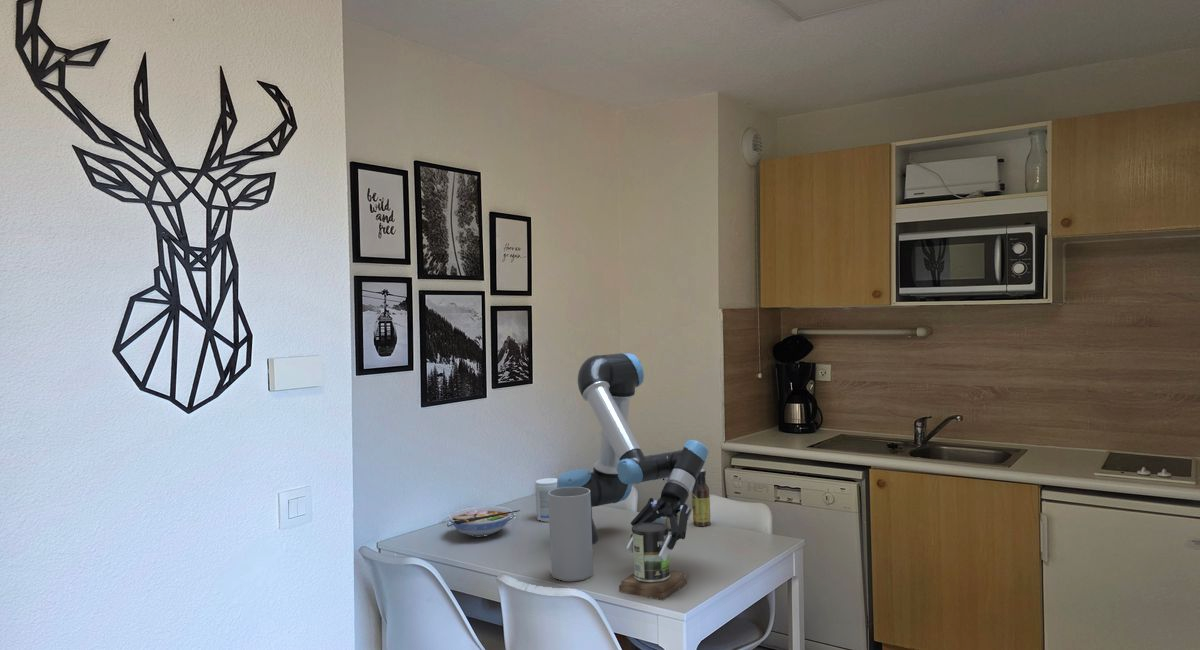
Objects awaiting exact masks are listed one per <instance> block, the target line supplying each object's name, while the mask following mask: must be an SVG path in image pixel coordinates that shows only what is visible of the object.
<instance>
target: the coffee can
mask: <svg viewBox="0 0 1200 650" xmlns="http://www.w3.org/2000/svg"><path fill="white" fill-rule="evenodd" d="M631 534H632V535H633V553H632V555H633V556H632V557H633V573H634V578H635V579H636V580H638V581H642V582H660V581H664V580H667V579H669V577H670V571H671V570H670V553H669V554H668V556H667V558H666V561H663V560H662V559H661V558H660V557H659V556H658V555H659V553H660V551H661V549H662V547H663V545H664V543H665V541H666V539H667V537H668V535H669V529H668V526H667V525H666V524H663V523H656V522H647V523H640V524H636V525H634V526H632V525H631Z"/></svg>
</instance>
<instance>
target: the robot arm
mask: <svg viewBox="0 0 1200 650" xmlns="http://www.w3.org/2000/svg"><path fill="white" fill-rule="evenodd" d="M644 375H645V372H644V367H643V364H642V363H641V360H640V359H639V358H638V357H637V356H636V355H635V354H633V353H625V352H620V353H613V354H612V353H611V354H603V355H602V354H596V355H593V356H590V357H587V359H586V360H585V361H583V363H582V364H581V366H580V367H579V370H578V373H577V386H578V391H579V393H580V395H581V397H582V399H583V400H584V401H586V402H588V404H589V406H590V407H591V409H592V411H593V413H594V415H595V417H596V419H597V421H598V423H599V425H600V427H601V433H600V441H599V442H600V443H599V451H598V452H599V453H598V460H596V462H594V463H593V469H592V470H593V471H592V472H591V471H590V470H589V469H585V468H584V469H583V468H578V469H571V470H569V471H568V470H567V471H565V472H562V473H561V474H560V475H559V476H558V477H557V478H556V479H557V488H563V487H583V488H587V489H589V490H590V497H591V524H592V545H594V544H595V543H597V542H598V541H599V533H598V530H597V527H596V525H595V521H594V519H593V509H592V508H594V507H600V506H604V505H609V504H610V505H611V504H617V503H619V502H622V501H625V500H626V499H628V497H629V496H630V494H631V492H632V488H633V485H635V484H640V483H644V482H649V481H656V480H660V479H661V480H662V479H666V482H665V484H664V486H663V488H662V490H661V492H660V498H658V500H655V499H654V498H653V497H650V498H649V499H648V502H647V503H646V505H645V506H644V507H643V508H642V509H641V510H640V511H639V513H638V514H637V515H636V516H635V517H634V518H633V519H632V520H631V522H630V525H631V527H632V526H634V525H636V524H640V523H647V522H654V521H655V520H656V519H657V518H660V517H668V518H670V526H671V530H670V533H669V534H668V537H667V539H666V541H665V543H664V545H663V547H662V549H661V551H660V553H659V555H658V556H659V557H660V558H661V559H662V560H663V561H666V558H667V556H668V554H669V555H670V552H671V551H672V550H673V549H674V548H675V546H676V544H677V541H678V540H685V539H686V534H687V528H688V520H689V515H690V513H691V508H690V507H689V505H688V504H686V502H687V500H688V498H689V496H690V495H689V494H691V493H692V490H693V487H694V484H695V481H696V479H697V477H698V475H699V473H700V471H701V469H703V466H704V465H705V463H706V459H707V457H708V455H709V449H708V448H707V446H706V445H704V443H702V442H700V441H699V440H696V439H695V440H694V439H689V440H687V441H686V443H685V444H684V445H683V448H682V449H679V450H673V451H669V452H662V453H656V454H649V455H645V454H644V452H643V451H642V449H641V447H640V445H639V443H638V441H637V439H636V438H635V436H634V434H633V432H632V430H631V428H630V427H629V425H628V420H629V409H630V399H632V398H633V397H634V396H635V394H636V393H635V392H636V388H638V387H640V386H641V385H642V384H643V382H644ZM657 511H658V513H657ZM677 513H679V514H680V519H679V526H678V523H677V520H678V517H677ZM626 549H627V550H628V551H629V553H631V554H633V535H632V533H631V535H630V540H629V542H628V544H627V545H626Z"/></svg>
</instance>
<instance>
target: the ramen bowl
mask: <svg viewBox="0 0 1200 650" xmlns="http://www.w3.org/2000/svg"><path fill="white" fill-rule="evenodd" d="M520 511H521V510H520V509H518V510H512V509H511V508H509V507H505V506H495V505H484V506H483V505H481V506H480V505H479V506H471V507H466V508H465V507H464V508H462V509H457V510H456V511H453V512H450V514H449V515H448V519H449V521H450V523H451V524H452V525H453V527H454V528H455V529H456V530H457V531H458V532H460V533H462V534H466V535H468V536H471V535H473V536H484V535H489V534H491V535H493V534H494V533H497V532H498V531H501V530H502V529H503V528H505V526H506V525H507V524H508V523H509V520H510V518H511V517H512V515H513V513H518V512H520ZM473 536H472V537H473ZM489 536H490V535H489Z"/></svg>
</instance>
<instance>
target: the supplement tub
mask: <svg viewBox="0 0 1200 650" xmlns="http://www.w3.org/2000/svg"><path fill="white" fill-rule="evenodd" d="M557 479H558V478H557V477H556V478H553V477H551V478H550V477H548V478H547V477H545V478H541V479H537V480H535V481H534V482H535V485H534V487H535V488H534V489H535V503H536V504H535V505H536V507H535V509H536V518H537V520H538V521H539V520H541V521H540V522H542V521H549V500H548V492H549V491H551V490H553V489H557Z"/></svg>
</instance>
